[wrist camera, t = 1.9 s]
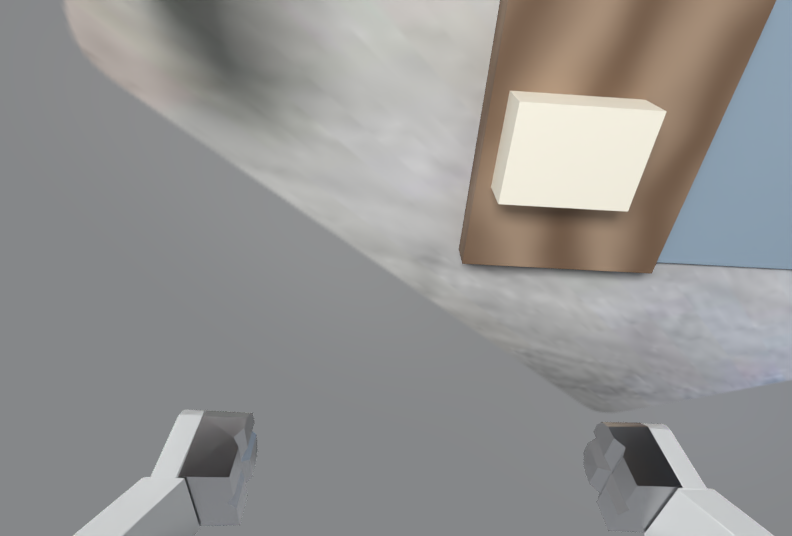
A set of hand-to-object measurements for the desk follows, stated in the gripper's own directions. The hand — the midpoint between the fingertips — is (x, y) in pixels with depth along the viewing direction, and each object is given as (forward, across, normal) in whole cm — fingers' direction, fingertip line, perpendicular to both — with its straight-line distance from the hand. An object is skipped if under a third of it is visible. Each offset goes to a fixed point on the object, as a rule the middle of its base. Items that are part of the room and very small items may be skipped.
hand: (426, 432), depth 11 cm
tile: (+20, -10, -1) cm, 23 cm away
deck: (+22, -12, -1) cm, 26 cm away
